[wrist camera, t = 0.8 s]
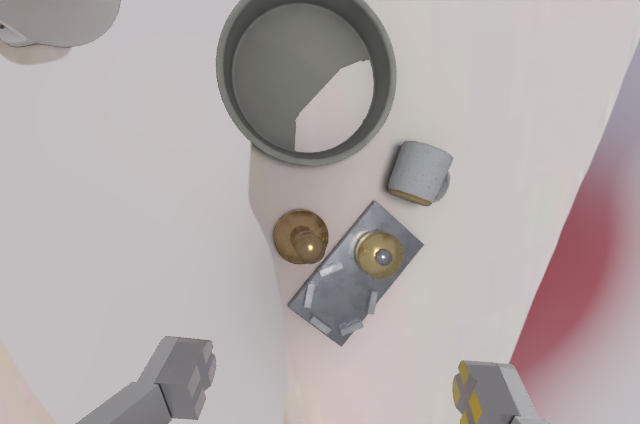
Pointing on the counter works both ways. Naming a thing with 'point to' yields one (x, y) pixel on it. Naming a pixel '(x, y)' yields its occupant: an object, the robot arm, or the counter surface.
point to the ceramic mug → (420, 173)
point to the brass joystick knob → (301, 237)
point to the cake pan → (299, 69)
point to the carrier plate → (356, 274)
